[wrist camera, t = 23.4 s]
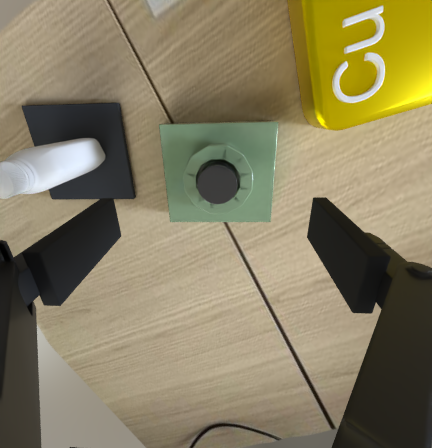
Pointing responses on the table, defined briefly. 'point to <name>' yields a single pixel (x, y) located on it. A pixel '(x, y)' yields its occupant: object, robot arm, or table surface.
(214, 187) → the black round knob
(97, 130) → the slate mat
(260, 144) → the button housing
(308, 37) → the element tile
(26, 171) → the eye dropper bottle
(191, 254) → the table surface
